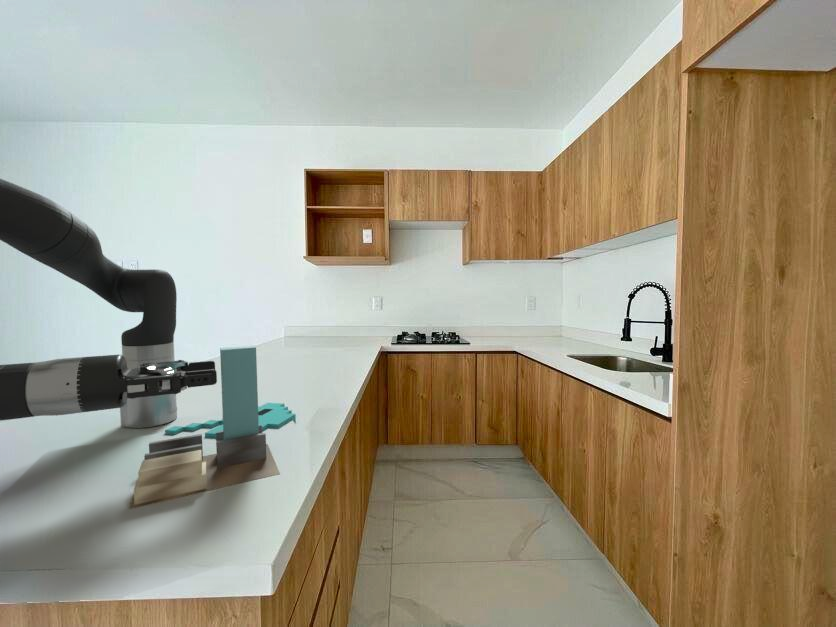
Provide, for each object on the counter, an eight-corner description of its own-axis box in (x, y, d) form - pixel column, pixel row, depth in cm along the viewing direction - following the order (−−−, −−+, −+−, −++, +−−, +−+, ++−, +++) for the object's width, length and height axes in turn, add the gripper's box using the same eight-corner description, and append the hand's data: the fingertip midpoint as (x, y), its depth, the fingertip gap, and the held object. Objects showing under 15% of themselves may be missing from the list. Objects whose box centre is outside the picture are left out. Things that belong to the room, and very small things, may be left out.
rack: (129, 516, 47) (127, 477, 47) (143, 473, 58) (142, 442, 58) (280, 480, 56) (279, 447, 56) (267, 449, 67) (266, 421, 67)
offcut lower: (134, 504, 48) (133, 489, 48) (139, 489, 52) (139, 474, 52) (206, 488, 52) (206, 474, 52) (206, 474, 56) (206, 461, 56)
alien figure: (165, 441, 73) (258, 448, 69) (164, 430, 73) (257, 436, 69) (235, 409, 92) (310, 414, 88) (234, 400, 92) (310, 404, 88)
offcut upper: (138, 487, 48) (138, 472, 48) (143, 474, 52) (142, 460, 52) (201, 474, 52) (201, 460, 52) (202, 463, 55) (201, 449, 55)
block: (225, 463, 60) (221, 350, 59) (224, 457, 62) (220, 348, 61) (259, 455, 62) (256, 347, 61) (257, 450, 64) (253, 345, 63)
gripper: (63, 365, 45) (216, 353, 53) (93, 350, 58) (213, 343, 66) (67, 427, 46) (218, 406, 54) (95, 399, 58) (215, 385, 66)
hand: (215, 371), depth 60 cm, fingers open, 8 cm apart
